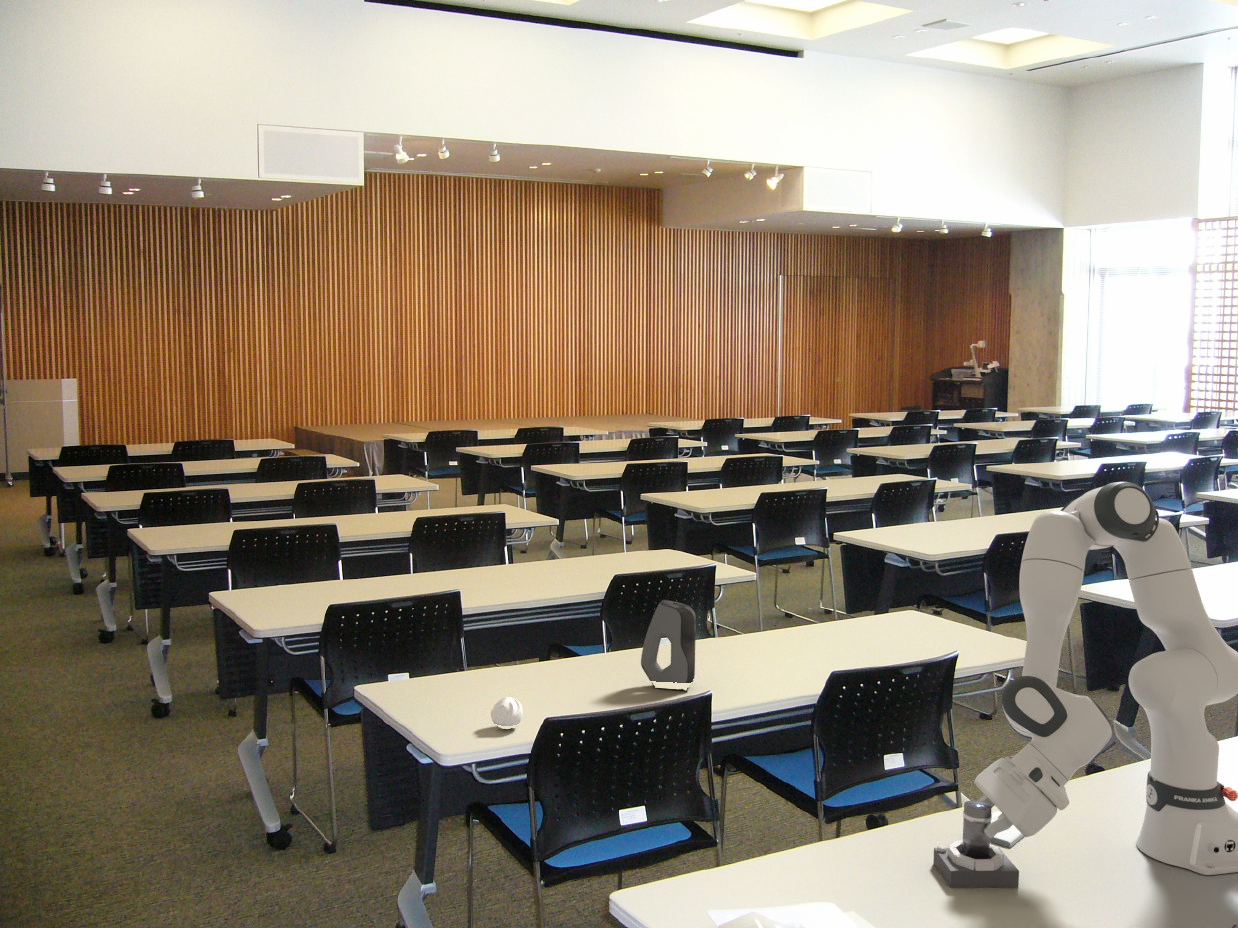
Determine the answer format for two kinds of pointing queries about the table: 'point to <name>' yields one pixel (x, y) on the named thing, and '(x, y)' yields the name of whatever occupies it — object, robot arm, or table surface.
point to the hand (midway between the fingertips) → (979, 826)
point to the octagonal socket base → (975, 868)
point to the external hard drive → (1006, 834)
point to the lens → (976, 830)
